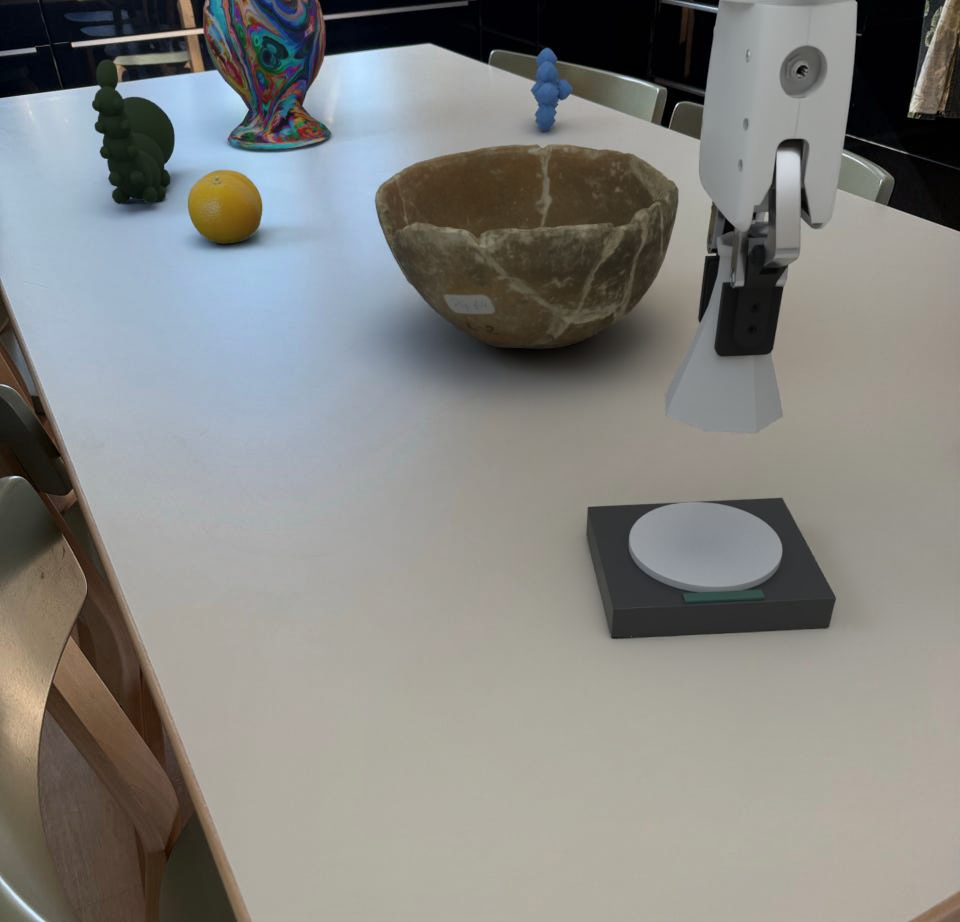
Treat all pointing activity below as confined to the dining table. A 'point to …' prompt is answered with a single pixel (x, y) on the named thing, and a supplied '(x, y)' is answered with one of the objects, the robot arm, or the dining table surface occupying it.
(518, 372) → the dining table surface
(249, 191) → the fruit
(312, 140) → the vase
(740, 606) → the scale
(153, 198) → the toy figurine
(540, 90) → the grapes
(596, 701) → the dining table surface
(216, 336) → the dining table surface
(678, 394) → the flask
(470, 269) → the bowl
